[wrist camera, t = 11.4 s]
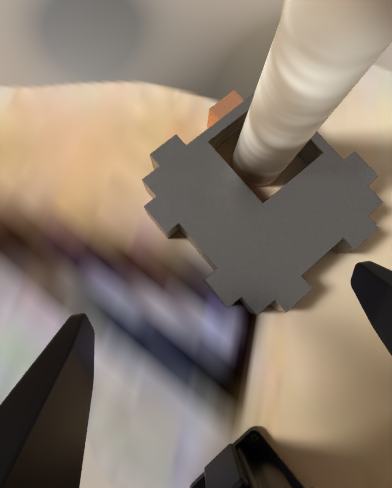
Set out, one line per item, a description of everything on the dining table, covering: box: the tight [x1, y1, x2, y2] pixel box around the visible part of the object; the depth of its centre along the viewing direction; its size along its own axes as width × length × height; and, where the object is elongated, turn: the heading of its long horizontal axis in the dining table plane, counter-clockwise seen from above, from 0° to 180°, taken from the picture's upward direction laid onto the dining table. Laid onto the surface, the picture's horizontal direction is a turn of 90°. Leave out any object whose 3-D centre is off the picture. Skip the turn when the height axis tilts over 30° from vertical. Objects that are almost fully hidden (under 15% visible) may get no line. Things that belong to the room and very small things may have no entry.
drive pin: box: [232, 0, 392, 186], centre depth 18 cm, size 4×4×14 cm
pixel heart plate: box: [142, 90, 383, 315], centre depth 23 cm, size 15×15×2 cm
